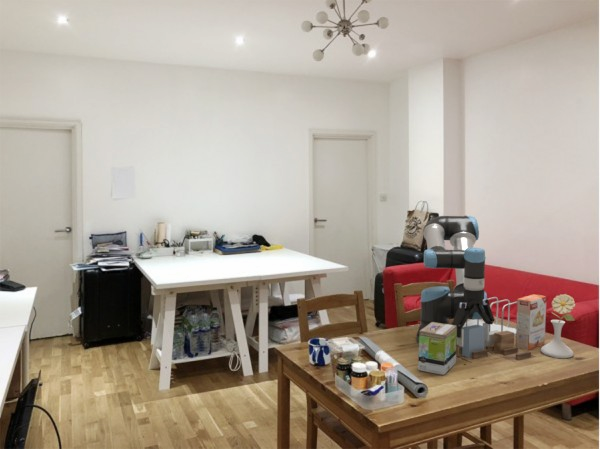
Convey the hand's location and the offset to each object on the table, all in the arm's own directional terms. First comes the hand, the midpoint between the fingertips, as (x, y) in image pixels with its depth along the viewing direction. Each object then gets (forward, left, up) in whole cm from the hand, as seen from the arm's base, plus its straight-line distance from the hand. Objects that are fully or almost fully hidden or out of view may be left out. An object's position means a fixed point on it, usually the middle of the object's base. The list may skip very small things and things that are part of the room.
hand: (473, 342), depth 194 cm
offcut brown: (+8, +11, -5) cm, 15 cm away
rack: (+8, +11, -6) cm, 15 cm away
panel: (0, 0, -5) cm, 5 cm away
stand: (0, 0, -6) cm, 6 cm away
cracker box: (+13, +27, -6) cm, 30 cm away
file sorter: (-10, +38, -6) cm, 39 cm away
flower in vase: (+25, +22, -6) cm, 34 cm away
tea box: (-5, -18, -6) cm, 20 cm away
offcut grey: (+2, +14, -5) cm, 15 cm away
